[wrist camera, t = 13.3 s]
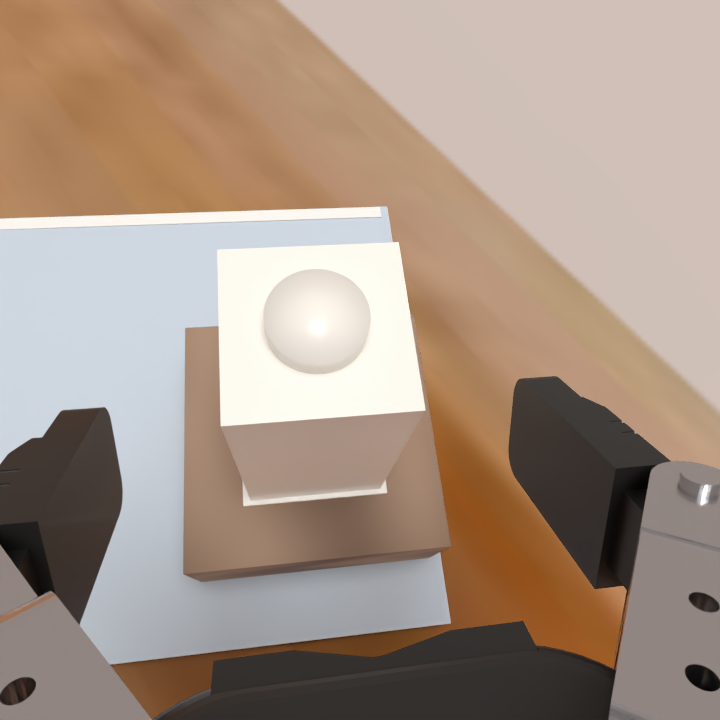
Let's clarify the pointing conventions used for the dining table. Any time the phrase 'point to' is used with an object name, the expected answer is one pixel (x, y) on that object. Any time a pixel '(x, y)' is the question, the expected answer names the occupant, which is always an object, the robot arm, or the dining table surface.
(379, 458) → the block
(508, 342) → the dining table surface
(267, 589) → the build board
